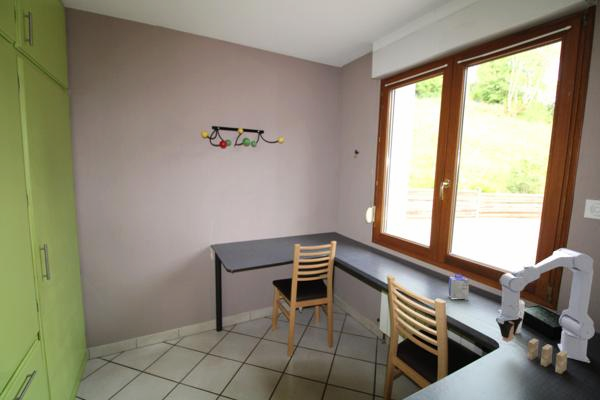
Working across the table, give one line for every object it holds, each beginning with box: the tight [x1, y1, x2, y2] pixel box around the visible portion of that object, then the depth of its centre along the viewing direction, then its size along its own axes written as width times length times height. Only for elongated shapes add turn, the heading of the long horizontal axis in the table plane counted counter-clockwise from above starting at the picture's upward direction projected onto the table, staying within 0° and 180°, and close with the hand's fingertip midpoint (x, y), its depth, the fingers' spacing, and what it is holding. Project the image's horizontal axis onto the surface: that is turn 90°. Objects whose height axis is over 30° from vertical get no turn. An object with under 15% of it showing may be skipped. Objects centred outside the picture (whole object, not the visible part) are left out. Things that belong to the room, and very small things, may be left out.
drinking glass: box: [515, 299, 525, 335], centre depth 134 cm, size 7×7×15 cm
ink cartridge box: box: [448, 273, 470, 301], centre depth 169 cm, size 10×6×14 cm, turn 78°
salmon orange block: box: [502, 321, 514, 343], centre depth 117 cm, size 2×5×7 cm, turn 119°
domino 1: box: [526, 338, 540, 361], centre depth 116 cm, size 2×5×7 cm, turn 119°
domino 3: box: [554, 350, 568, 375], centre depth 108 cm, size 2×5×7 cm, turn 119°
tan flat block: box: [540, 343, 553, 368], centre depth 112 cm, size 2×5×7 cm, turn 119°
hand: (508, 335), depth 117 cm, fingers closed on salmon orange block, 5 cm apart
